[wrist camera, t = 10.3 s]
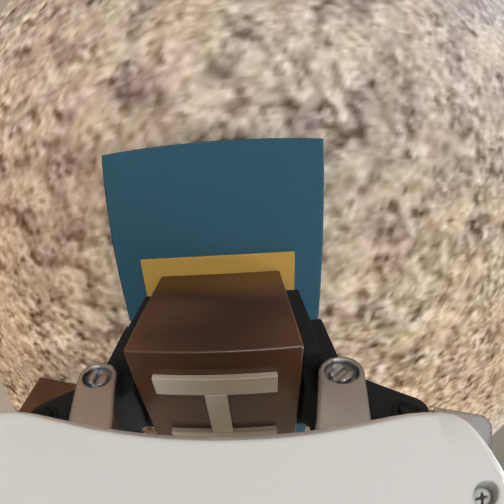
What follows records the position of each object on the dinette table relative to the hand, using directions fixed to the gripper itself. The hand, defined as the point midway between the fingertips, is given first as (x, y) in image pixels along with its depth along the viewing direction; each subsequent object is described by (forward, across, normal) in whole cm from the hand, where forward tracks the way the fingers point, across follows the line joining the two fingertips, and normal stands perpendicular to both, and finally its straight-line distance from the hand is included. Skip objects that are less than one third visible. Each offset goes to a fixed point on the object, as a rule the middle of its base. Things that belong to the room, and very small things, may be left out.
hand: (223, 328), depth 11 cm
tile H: (0, 0, 0) cm, 0 cm away
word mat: (+1, 0, +5) cm, 5 cm away
